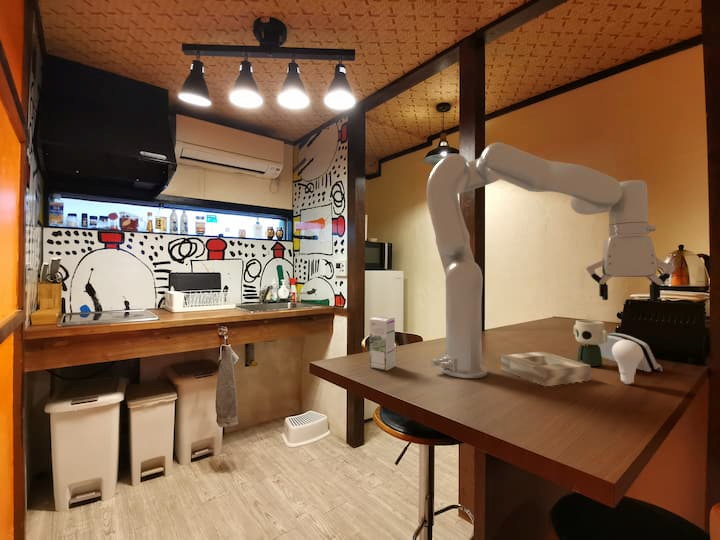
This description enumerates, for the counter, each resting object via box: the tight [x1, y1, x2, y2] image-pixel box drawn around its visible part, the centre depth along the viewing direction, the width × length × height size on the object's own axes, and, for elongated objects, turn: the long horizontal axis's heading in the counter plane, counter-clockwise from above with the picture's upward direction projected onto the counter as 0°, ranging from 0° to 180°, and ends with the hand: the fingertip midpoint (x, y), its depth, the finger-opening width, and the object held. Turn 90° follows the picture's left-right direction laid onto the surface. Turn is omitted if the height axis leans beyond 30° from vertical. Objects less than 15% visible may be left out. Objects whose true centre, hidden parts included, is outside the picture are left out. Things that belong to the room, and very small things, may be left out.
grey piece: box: [598, 332, 663, 373], centre depth 101 cm, size 17×5×10 cm, turn 5°
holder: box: [500, 351, 591, 387], centre depth 90 cm, size 15×15×4 cm
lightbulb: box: [612, 340, 643, 385], centre depth 83 cm, size 6×6×11 cm
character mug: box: [573, 319, 609, 367], centre depth 99 cm, size 11×7×13 cm, turn 13°
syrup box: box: [368, 316, 396, 371], centre depth 97 cm, size 6×6×14 cm
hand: (628, 300), depth 82 cm, fingers open, 9 cm apart
